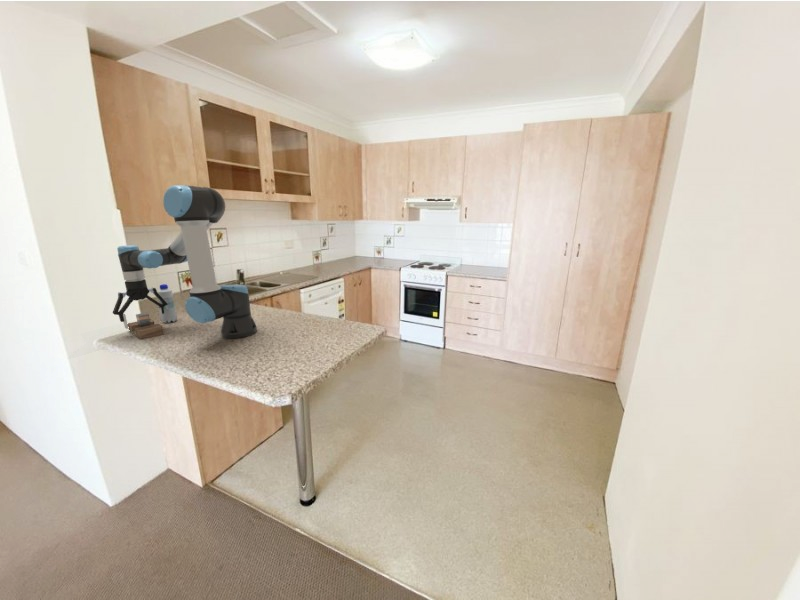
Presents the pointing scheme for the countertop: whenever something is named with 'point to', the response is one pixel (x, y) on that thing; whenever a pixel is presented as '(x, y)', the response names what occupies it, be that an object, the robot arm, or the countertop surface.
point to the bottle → (169, 308)
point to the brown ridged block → (146, 330)
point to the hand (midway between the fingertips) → (144, 324)
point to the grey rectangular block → (143, 319)
